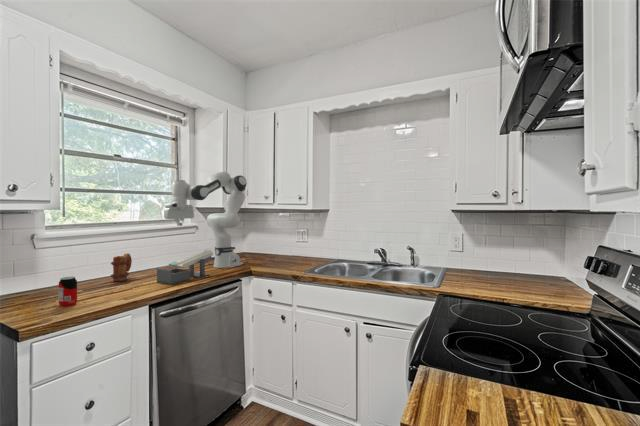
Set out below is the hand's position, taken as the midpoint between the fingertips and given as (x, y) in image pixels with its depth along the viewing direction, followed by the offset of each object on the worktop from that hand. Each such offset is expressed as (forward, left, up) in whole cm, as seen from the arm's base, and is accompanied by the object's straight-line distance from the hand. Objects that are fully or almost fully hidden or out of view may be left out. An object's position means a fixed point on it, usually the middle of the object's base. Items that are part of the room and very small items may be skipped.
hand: (179, 225), depth 207 cm
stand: (+2, +19, -31) cm, 36 cm away
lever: (+2, +15, -24) cm, 29 cm away
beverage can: (+69, +18, -31) cm, 78 cm away
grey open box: (+18, +19, -31) cm, 41 cm away
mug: (+30, -12, -31) cm, 45 cm away
